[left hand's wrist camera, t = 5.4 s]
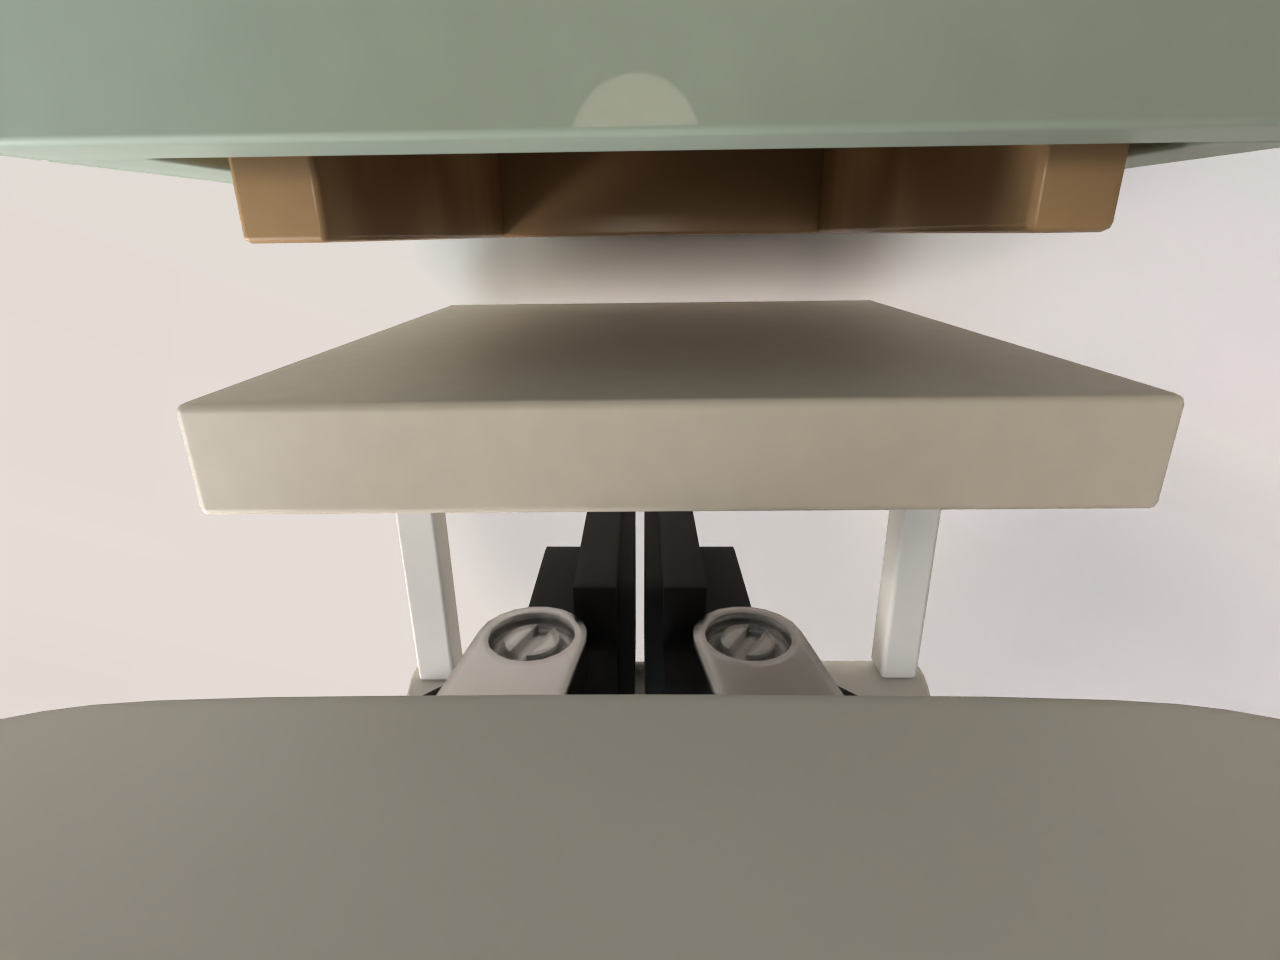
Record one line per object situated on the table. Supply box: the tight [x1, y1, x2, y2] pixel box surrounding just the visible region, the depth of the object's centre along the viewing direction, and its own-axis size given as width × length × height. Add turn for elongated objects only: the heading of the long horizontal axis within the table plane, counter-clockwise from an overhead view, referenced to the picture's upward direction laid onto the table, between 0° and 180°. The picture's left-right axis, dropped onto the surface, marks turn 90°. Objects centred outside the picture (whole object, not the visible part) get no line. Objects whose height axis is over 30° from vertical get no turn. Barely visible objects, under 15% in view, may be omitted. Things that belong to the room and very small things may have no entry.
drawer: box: [177, 143, 1184, 696], centre depth 10 cm, size 21×10×10 cm, turn 1°
